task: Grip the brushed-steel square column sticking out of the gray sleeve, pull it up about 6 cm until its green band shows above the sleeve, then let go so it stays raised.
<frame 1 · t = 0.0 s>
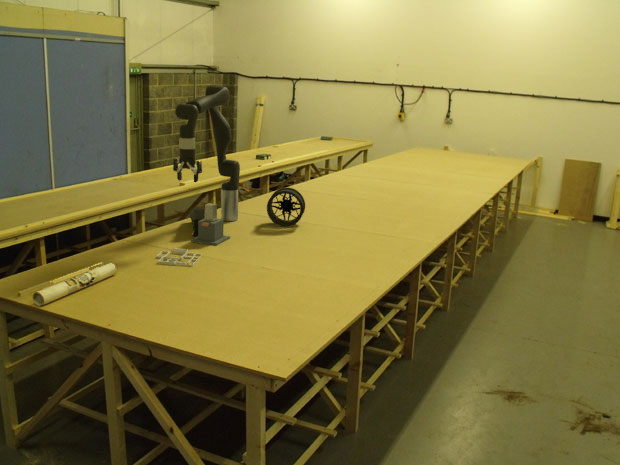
hand: (187, 181, 293), 29 cm above the table, fingers open, 8 cm apart
gray sleeve: (210, 239, 302), on the table
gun: (197, 230, 320), on the table, touching gray sleeve
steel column: (210, 220, 299), point 10 cm above the table, slide at 0.0 cm
wheel rim: (285, 225, 336), on the table
floor plan model: (171, 259, 273), on the table
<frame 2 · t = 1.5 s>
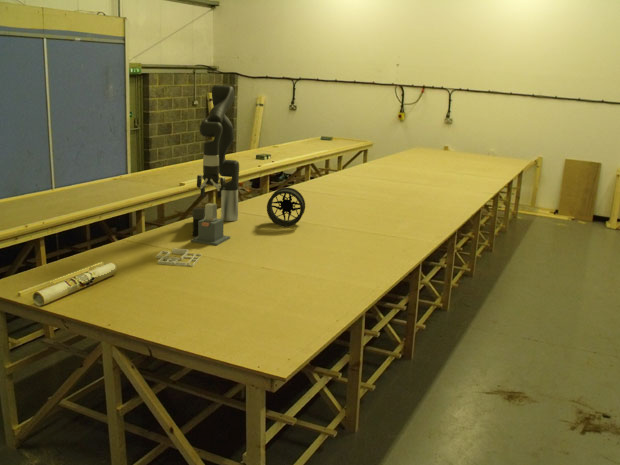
hand: (210, 197, 296), 22 cm above the table, fingers open, 8 cm apart
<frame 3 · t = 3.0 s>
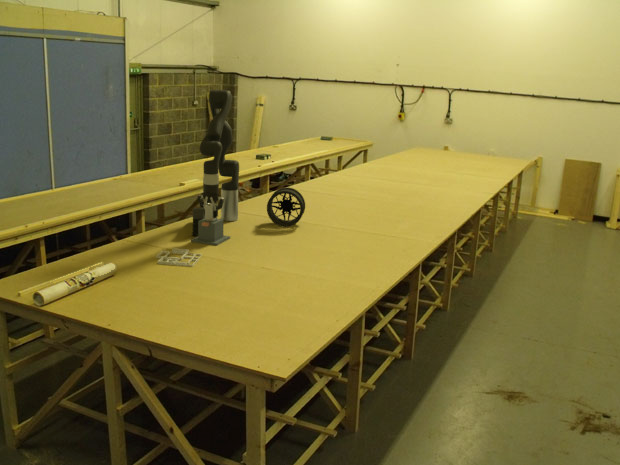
hand: (210, 216, 299), 12 cm above the table, fingers closed on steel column, 4 cm apart
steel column: (210, 220, 300), point 10 cm above the table, slide at 0.0 cm, touching gripper
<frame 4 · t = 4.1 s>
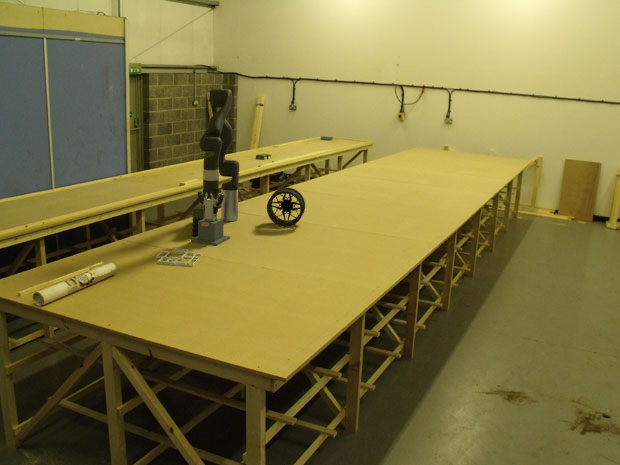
hand: (210, 212, 298), 14 cm above the table, fingers closed on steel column, 4 cm apart
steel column: (210, 216, 299), point 12 cm above the table, slide at 2.0 cm, touching gripper
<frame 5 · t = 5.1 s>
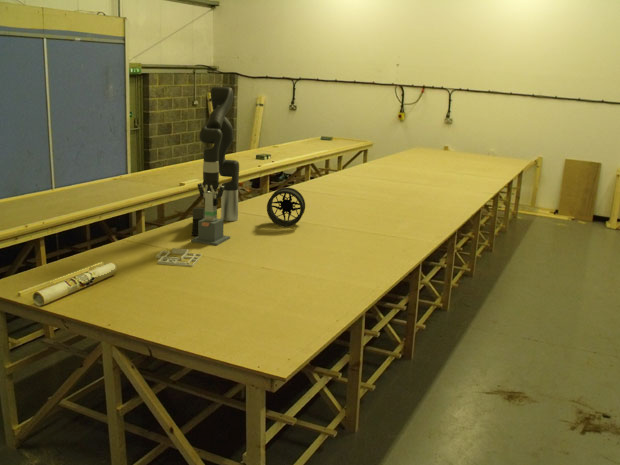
hand: (210, 205, 297), 18 cm above the table, fingers closed on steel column, 4 cm apart
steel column: (210, 208, 298), point 16 cm above the table, slide at 5.8 cm, touching gripper
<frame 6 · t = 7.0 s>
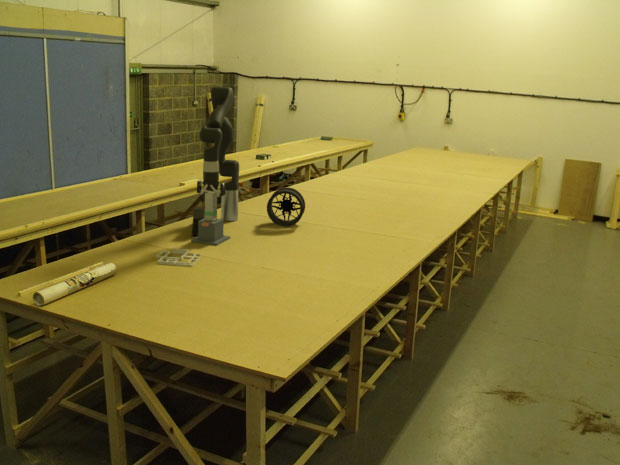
hand: (210, 203, 297), 19 cm above the table, fingers open, 8 cm apart
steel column: (210, 208, 298), point 16 cm above the table, slide at 5.9 cm
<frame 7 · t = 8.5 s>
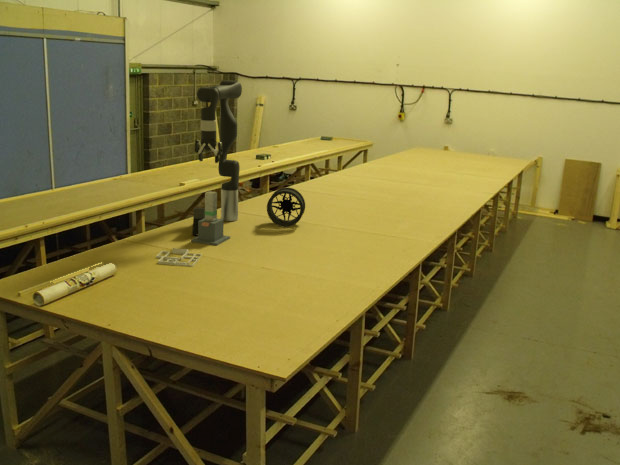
hand: (208, 162, 304), 37 cm above the table, fingers open, 8 cm apart
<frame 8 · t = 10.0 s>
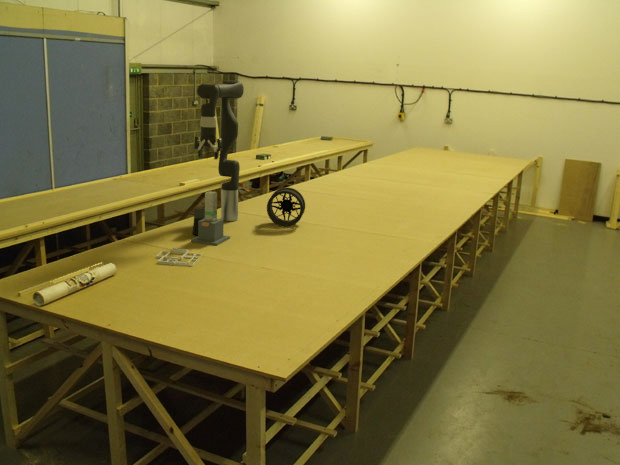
hand: (208, 158, 305), 38 cm above the table, fingers open, 8 cm apart
at the end: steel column slide at 5.9 cm; the gripper is holding nothing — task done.
